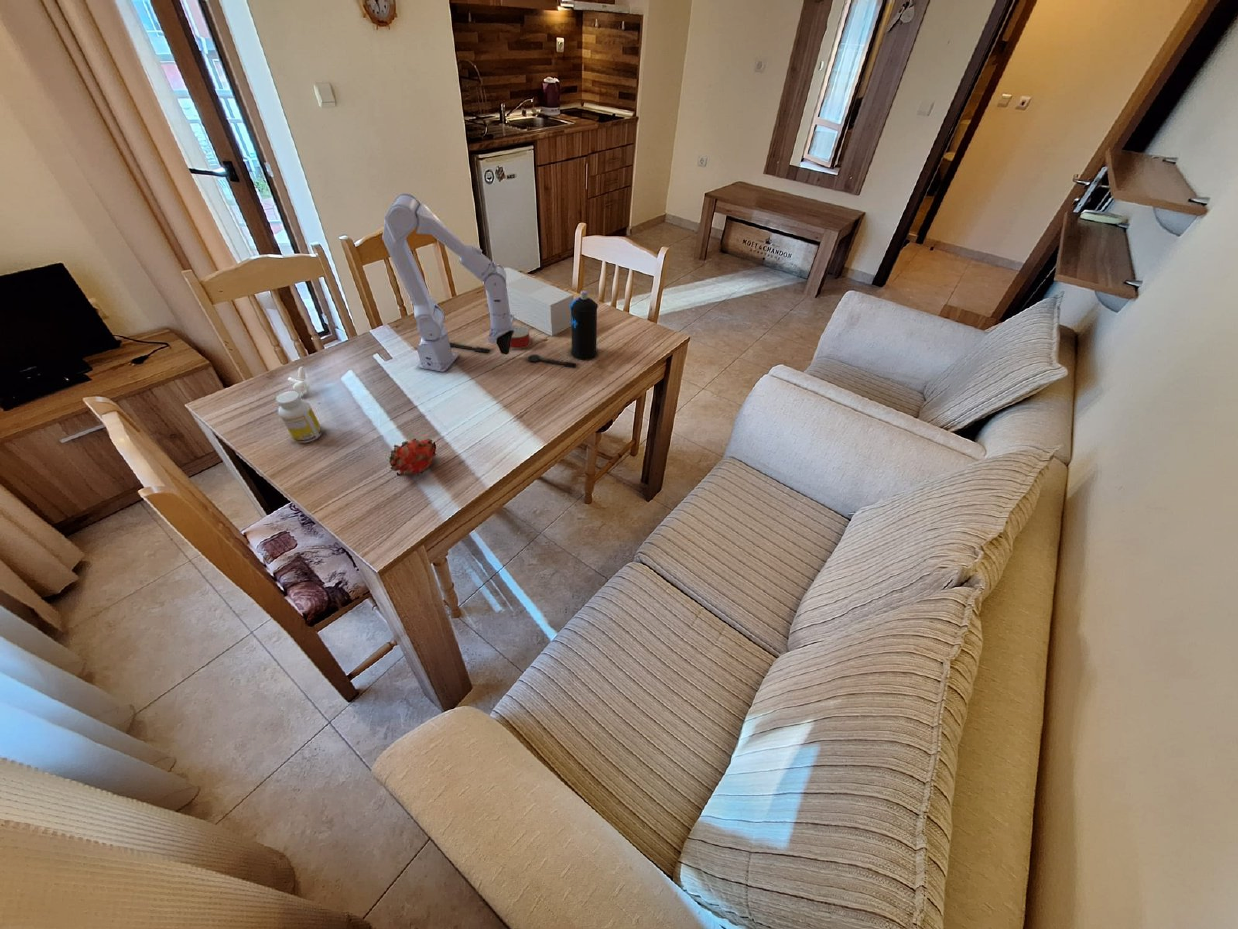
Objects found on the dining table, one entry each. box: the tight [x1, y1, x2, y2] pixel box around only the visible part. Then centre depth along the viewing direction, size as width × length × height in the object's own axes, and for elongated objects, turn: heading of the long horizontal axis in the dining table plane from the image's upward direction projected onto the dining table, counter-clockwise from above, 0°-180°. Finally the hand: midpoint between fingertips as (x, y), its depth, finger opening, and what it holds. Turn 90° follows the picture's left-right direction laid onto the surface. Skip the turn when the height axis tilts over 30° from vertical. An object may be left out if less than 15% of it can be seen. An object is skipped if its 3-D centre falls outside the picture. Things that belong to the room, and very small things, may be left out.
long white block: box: [485, 266, 575, 337], centre depth 163 cm, size 32×11×11 cm, turn 51°
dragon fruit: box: [388, 437, 437, 477], centre depth 108 cm, size 8×8×12 cm
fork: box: [449, 342, 491, 354], centre depth 149 cm, size 2×15×1 cm, turn 77°
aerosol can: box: [570, 289, 599, 361], centre depth 143 cm, size 8×8×20 cm
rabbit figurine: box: [287, 365, 309, 397], centre depth 128 cm, size 6×4×8 cm
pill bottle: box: [275, 390, 323, 444], centre depth 113 cm, size 6×6×12 cm
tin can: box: [510, 324, 531, 350], centre depth 151 cm, size 8×8×4 cm
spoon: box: [527, 354, 577, 368], centre depth 145 cm, size 4×15×1 cm, turn 77°
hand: (505, 353), depth 145 cm, fingers closed
